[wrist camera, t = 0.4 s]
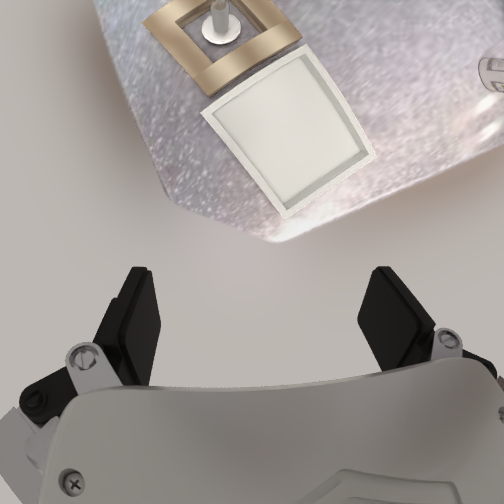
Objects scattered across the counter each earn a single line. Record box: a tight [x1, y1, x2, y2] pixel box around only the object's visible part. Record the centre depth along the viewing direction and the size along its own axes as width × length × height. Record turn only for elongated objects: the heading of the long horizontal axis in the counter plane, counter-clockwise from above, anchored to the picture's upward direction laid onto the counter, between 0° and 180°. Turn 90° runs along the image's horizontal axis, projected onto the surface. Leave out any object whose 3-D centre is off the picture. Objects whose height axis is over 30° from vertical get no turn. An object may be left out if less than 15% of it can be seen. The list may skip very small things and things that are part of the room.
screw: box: [202, 0, 241, 44], centre depth 22 cm, size 13×5×5 cm
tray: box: [200, 44, 377, 220], centre depth 33 cm, size 16×18×4 cm
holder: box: [142, 0, 302, 98], centre depth 26 cm, size 14×14×4 cm
